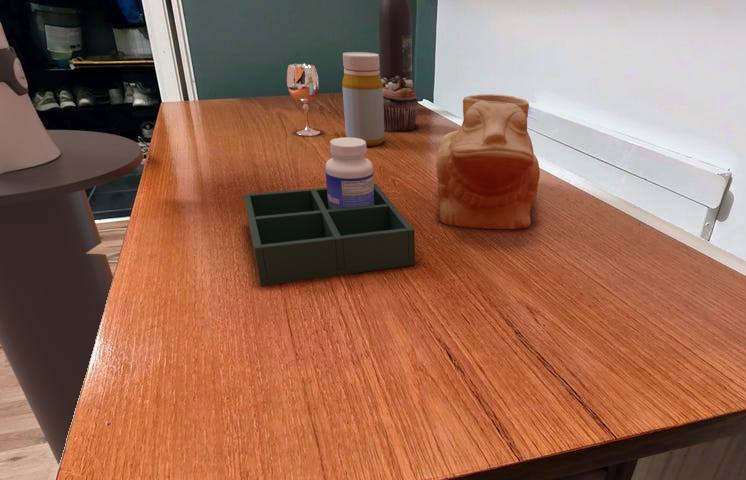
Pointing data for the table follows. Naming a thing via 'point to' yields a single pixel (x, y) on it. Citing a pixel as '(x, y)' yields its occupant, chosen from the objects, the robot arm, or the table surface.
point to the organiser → (324, 236)
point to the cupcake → (399, 103)
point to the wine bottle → (395, 38)
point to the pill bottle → (349, 174)
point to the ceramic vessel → (488, 166)
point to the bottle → (363, 97)
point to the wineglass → (303, 89)
